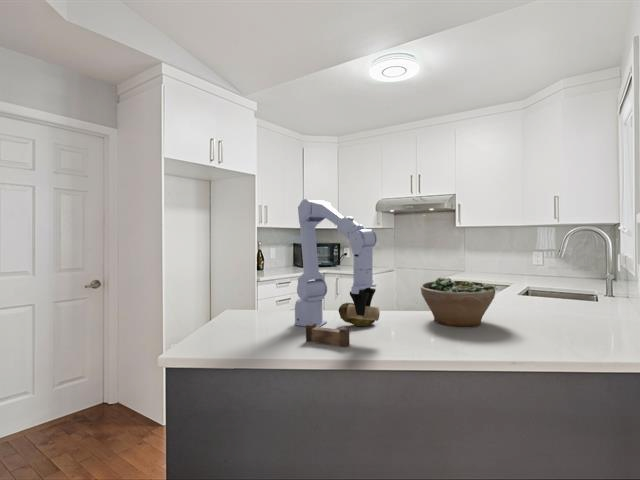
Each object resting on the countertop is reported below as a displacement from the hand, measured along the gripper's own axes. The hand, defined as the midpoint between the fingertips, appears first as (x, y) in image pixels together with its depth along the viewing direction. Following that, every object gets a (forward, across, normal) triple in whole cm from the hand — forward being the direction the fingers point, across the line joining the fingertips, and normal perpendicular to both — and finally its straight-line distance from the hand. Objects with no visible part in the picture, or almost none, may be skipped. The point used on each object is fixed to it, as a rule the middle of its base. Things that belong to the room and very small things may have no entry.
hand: (362, 313), depth 113 cm
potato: (+9, +16, +7) cm, 19 cm away
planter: (+8, +34, -24) cm, 43 cm away
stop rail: (+8, -6, +9) cm, 14 cm away
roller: (+2, 0, 0) cm, 2 cm away
